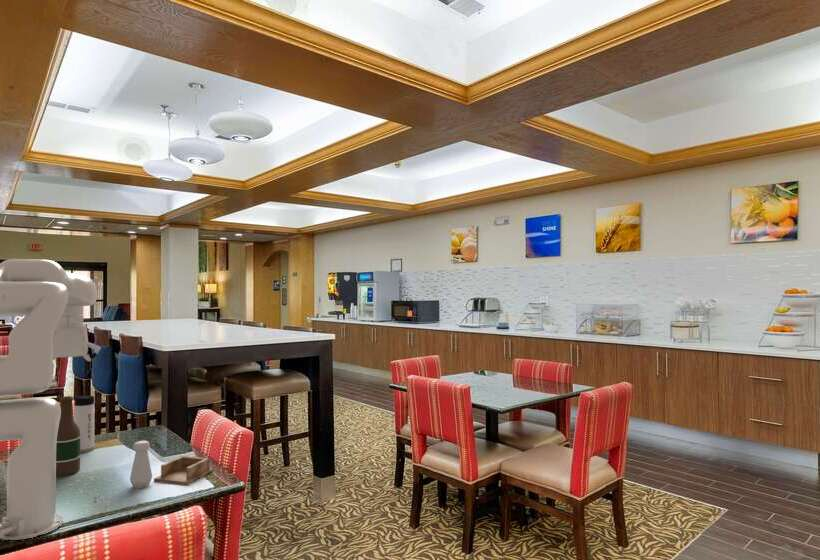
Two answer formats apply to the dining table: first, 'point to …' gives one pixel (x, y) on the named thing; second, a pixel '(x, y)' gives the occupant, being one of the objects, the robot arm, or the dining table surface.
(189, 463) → the walnut U-rest
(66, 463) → the beer bottle
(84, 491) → the dining table surface
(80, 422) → the travel mug
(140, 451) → the salt shaker
